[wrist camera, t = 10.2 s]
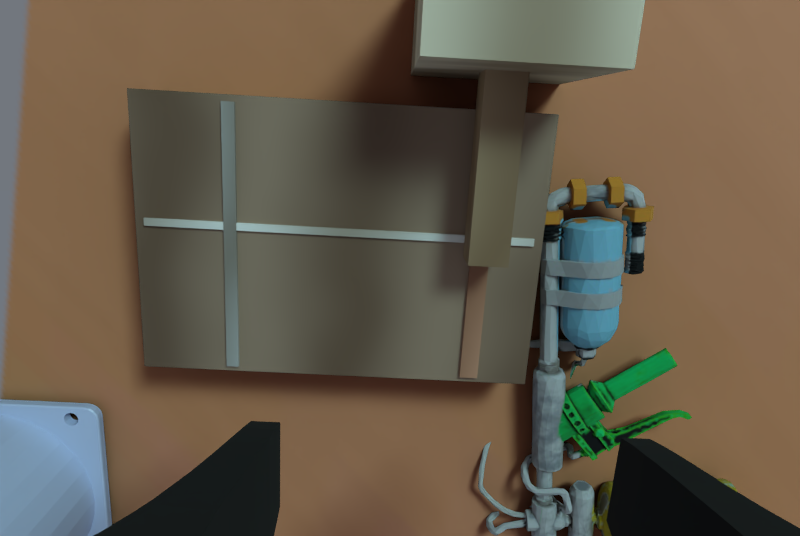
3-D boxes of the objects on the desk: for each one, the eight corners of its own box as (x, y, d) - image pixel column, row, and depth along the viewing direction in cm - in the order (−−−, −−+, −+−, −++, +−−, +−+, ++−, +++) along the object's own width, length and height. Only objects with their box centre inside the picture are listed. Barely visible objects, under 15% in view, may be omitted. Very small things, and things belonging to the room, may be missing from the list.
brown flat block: (167, 343, 21) (142, 368, 19) (154, 91, 19) (124, 87, 17) (512, 360, 21) (525, 385, 19) (541, 114, 19) (560, 114, 17)
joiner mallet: (401, 237, 20) (405, 284, 14) (416, -24, 18) (428, -92, 12) (539, 244, 20) (599, 294, 14) (571, -14, 18) (656, -77, 12)
